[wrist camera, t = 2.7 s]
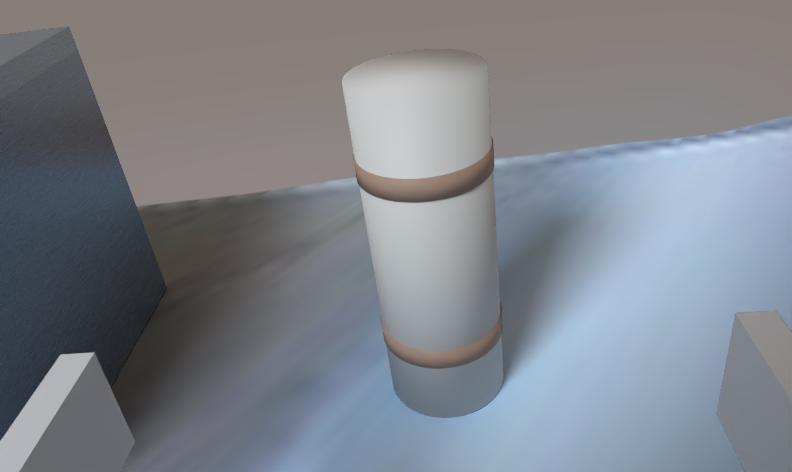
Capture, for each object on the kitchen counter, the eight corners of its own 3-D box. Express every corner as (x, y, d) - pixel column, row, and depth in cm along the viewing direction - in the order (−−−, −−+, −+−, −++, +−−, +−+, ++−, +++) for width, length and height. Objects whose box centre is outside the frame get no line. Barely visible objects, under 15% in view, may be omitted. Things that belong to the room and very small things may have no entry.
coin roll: (499, 334, 30) (483, 42, 23) (510, 415, 26) (495, 89, 19) (394, 341, 30) (348, 57, 23) (388, 421, 26) (331, 106, 19)
